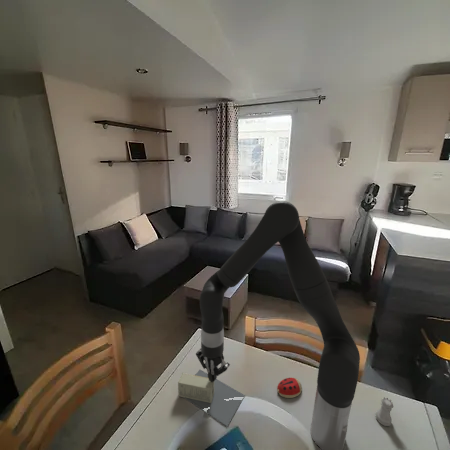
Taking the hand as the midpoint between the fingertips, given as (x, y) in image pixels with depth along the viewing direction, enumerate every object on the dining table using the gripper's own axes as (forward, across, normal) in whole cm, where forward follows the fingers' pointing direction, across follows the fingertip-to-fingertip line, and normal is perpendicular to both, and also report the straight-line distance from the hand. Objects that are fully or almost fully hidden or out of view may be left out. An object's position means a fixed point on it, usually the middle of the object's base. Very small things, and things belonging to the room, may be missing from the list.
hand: (212, 379), depth 82 cm
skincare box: (+4, -1, +1) cm, 4 cm away
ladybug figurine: (+8, -23, -17) cm, 29 cm away
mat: (+7, 0, 0) cm, 7 cm away
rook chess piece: (+7, -52, -23) cm, 57 cm away
